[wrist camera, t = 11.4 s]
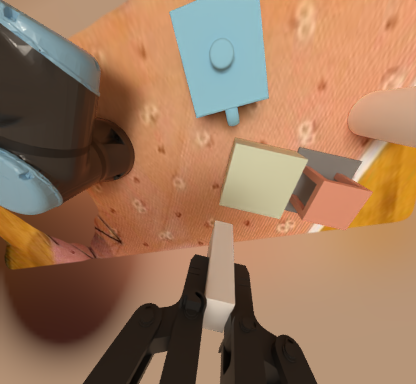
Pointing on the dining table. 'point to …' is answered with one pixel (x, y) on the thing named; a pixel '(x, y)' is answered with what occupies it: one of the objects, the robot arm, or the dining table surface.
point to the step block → (260, 178)
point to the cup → (386, 116)
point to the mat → (321, 172)
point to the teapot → (222, 54)
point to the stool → (331, 200)
